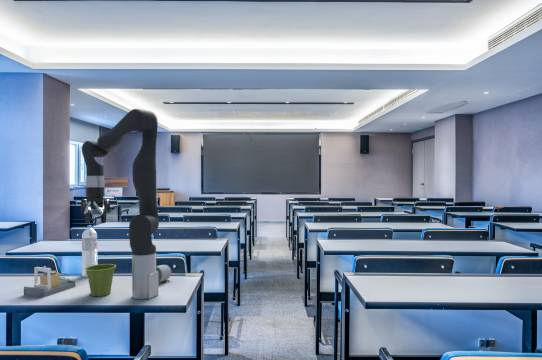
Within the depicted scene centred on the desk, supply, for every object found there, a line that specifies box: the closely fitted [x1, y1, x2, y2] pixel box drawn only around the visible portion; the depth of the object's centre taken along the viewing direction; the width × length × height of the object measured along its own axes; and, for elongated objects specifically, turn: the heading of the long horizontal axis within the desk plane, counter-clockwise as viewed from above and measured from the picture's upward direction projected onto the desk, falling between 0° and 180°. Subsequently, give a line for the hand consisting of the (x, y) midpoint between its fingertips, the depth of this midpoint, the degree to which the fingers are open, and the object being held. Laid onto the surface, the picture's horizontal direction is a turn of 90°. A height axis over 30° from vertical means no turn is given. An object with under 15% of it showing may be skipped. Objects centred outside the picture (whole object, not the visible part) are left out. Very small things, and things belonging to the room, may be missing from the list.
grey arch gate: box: [33, 266, 52, 291], centre depth 153 cm, size 8×2×10 cm, turn 72°
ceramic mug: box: [156, 264, 172, 284], centre depth 172 cm, size 11×8×8 cm
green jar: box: [60, 276, 70, 286], centre depth 161 cm, size 5×5×4 cm
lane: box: [23, 279, 76, 299], centre depth 156 cm, size 10×16×4 cm, turn 162°
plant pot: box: [85, 263, 117, 297], centre depth 153 cm, size 12×12×11 cm
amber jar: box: [39, 270, 61, 289], centre depth 156 cm, size 5×5×8 cm
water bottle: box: [81, 224, 99, 278], centre depth 181 cm, size 7×7×25 cm
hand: (95, 222), depth 165 cm, fingers open, 8 cm apart
